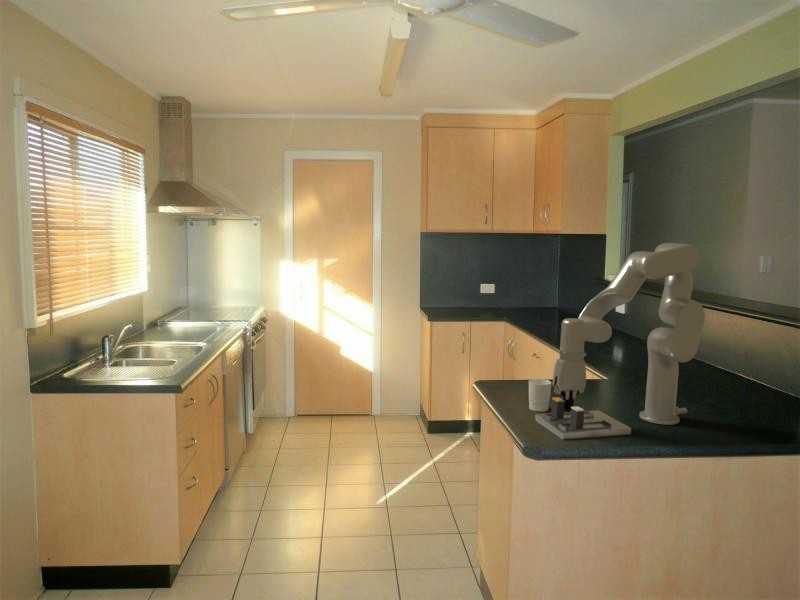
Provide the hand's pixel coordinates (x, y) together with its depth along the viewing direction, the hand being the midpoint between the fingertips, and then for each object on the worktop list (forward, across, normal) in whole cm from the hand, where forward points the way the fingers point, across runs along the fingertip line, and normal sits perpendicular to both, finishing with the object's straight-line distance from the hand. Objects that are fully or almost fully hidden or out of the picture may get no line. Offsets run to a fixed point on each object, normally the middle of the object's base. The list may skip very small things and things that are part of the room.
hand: (567, 409), depth 195 cm
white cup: (+4, +3, -15) cm, 16 cm away
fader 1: (+2, +4, 0) cm, 4 cm away
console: (+4, -2, +5) cm, 7 cm away
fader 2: (+2, +3, +10) cm, 11 cm away
